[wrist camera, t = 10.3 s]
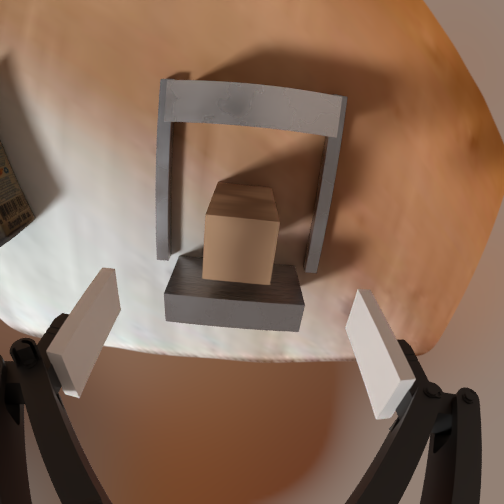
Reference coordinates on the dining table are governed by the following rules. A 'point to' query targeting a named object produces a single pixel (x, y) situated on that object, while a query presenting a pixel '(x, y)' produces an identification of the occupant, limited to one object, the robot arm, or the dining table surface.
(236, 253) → the block
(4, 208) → the beverage carton
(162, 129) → the vise body
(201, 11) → the dining table surface
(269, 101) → the block
